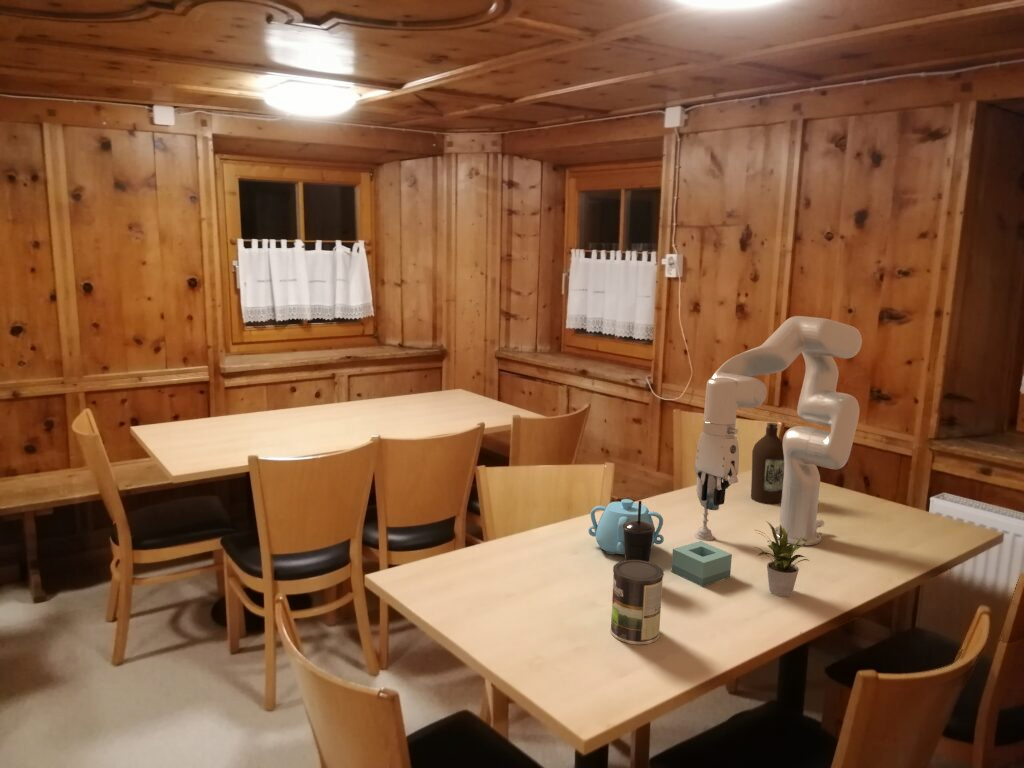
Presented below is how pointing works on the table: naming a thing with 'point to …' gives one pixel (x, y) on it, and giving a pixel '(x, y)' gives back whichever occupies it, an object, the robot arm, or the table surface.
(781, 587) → the house plant
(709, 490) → the pin
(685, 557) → the bore block
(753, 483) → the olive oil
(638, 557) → the drinking cup
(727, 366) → the robot arm
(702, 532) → the chalice
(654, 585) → the coffee can
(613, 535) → the decorative pot
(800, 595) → the table surface
